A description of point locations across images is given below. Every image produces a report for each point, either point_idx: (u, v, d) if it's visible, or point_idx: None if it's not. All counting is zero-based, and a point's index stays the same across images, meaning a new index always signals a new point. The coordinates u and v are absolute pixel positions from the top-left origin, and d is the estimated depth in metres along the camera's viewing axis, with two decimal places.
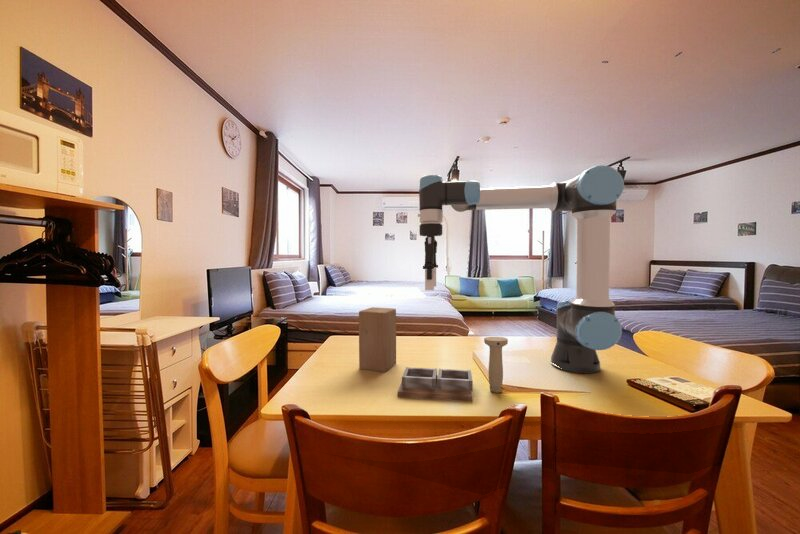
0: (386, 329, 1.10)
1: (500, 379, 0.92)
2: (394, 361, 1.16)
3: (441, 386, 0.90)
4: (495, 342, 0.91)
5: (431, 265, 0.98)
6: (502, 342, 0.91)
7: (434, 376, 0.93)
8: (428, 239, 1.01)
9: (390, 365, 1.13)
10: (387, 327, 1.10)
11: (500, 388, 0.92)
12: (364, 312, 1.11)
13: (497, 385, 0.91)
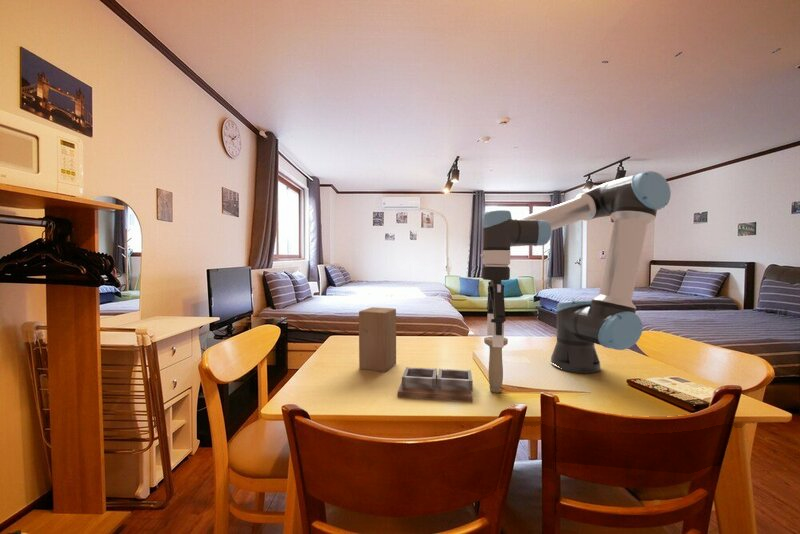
0: (386, 329, 1.10)
1: (500, 379, 0.92)
2: (394, 361, 1.16)
3: (441, 386, 0.90)
4: None
5: (503, 320, 0.83)
6: None
7: (434, 376, 0.93)
8: (497, 287, 0.86)
9: (390, 365, 1.13)
10: (387, 327, 1.10)
11: (500, 388, 0.92)
12: (364, 312, 1.11)
13: (497, 385, 0.91)
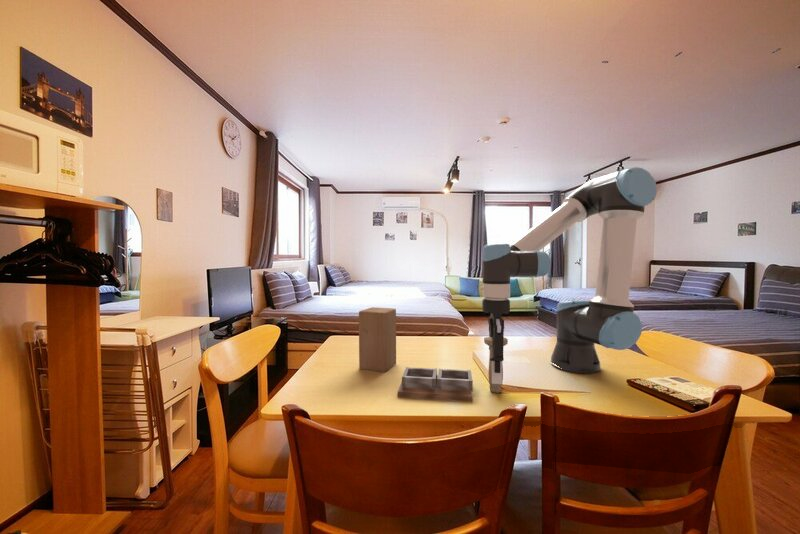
0: (386, 329, 1.10)
1: None
2: (394, 361, 1.16)
3: (441, 386, 0.90)
4: None
5: (501, 359, 0.87)
6: None
7: (434, 376, 0.93)
8: (497, 329, 0.86)
9: (390, 365, 1.13)
10: (387, 327, 1.10)
11: (500, 388, 0.92)
12: (364, 312, 1.11)
13: (497, 385, 0.91)
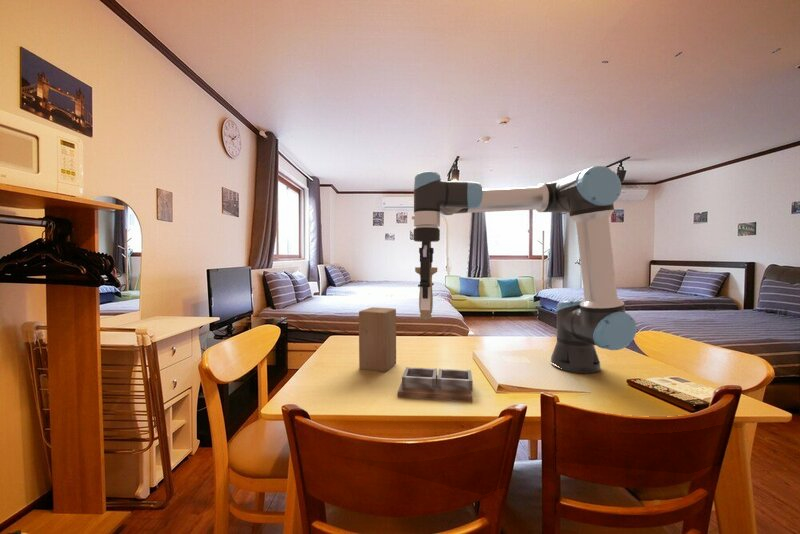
0: (386, 329, 1.10)
1: None
2: (394, 361, 1.16)
3: (441, 386, 0.90)
4: None
5: (427, 283, 0.89)
6: (431, 269, 0.92)
7: (434, 376, 0.93)
8: (423, 252, 0.88)
9: (390, 365, 1.13)
10: (387, 327, 1.10)
11: (429, 315, 0.94)
12: (364, 312, 1.11)
13: (426, 312, 0.93)
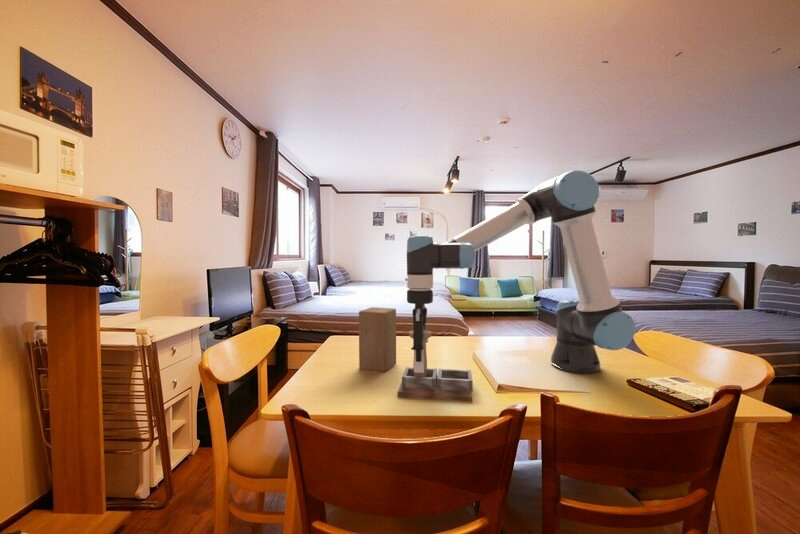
0: (386, 329, 1.10)
1: None
2: (394, 361, 1.16)
3: (441, 386, 0.90)
4: None
5: (420, 348, 0.89)
6: (425, 335, 0.93)
7: (434, 376, 0.93)
8: (416, 317, 0.89)
9: (390, 365, 1.13)
10: (387, 327, 1.10)
11: None
12: (364, 312, 1.11)
13: None
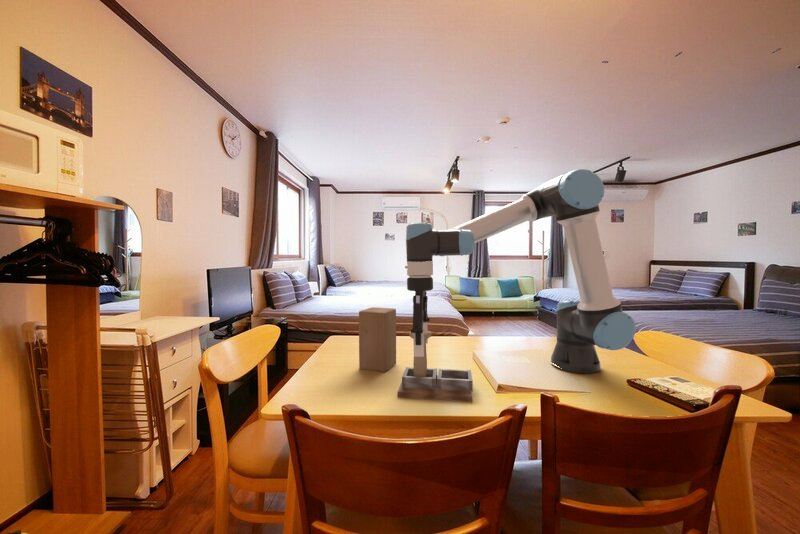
0: (386, 329, 1.10)
1: (423, 371, 0.94)
2: (394, 361, 1.16)
3: (441, 386, 0.90)
4: None
5: (420, 330, 0.85)
6: (425, 335, 0.93)
7: (434, 376, 0.93)
8: (416, 298, 0.88)
9: (390, 365, 1.13)
10: (387, 327, 1.10)
11: None
12: (364, 312, 1.11)
13: None
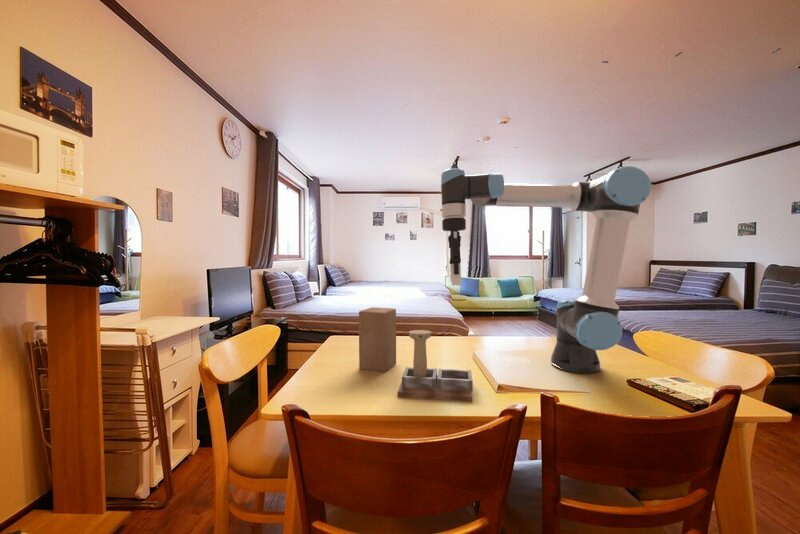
0: (386, 329, 1.10)
1: (423, 371, 0.94)
2: (394, 361, 1.16)
3: (441, 386, 0.90)
4: (417, 335, 0.93)
5: (459, 259, 0.96)
6: (424, 335, 0.93)
7: (434, 376, 0.93)
8: (454, 233, 1.00)
9: (390, 365, 1.13)
10: (387, 327, 1.10)
11: None
12: (364, 312, 1.11)
13: None
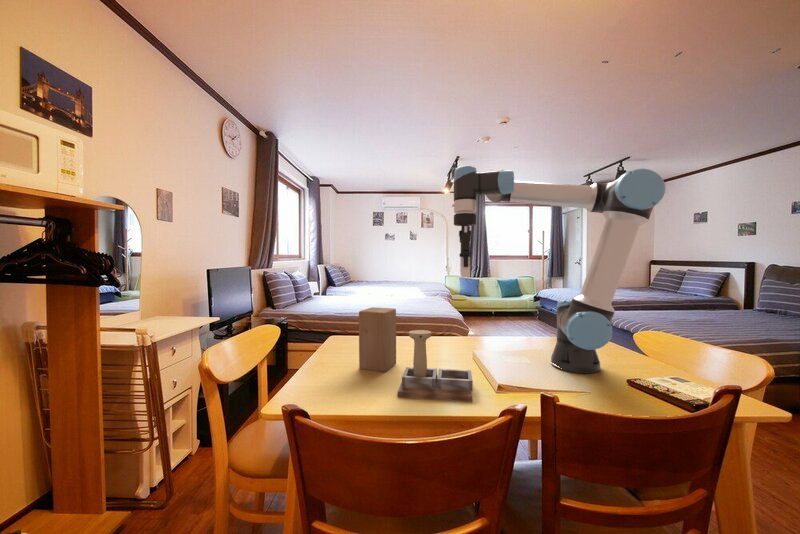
0: (386, 329, 1.10)
1: (423, 371, 0.94)
2: (394, 361, 1.16)
3: (441, 386, 0.90)
4: (417, 335, 0.93)
5: (468, 253, 1.01)
6: (424, 335, 0.93)
7: (434, 376, 0.93)
8: (464, 228, 1.04)
9: (390, 365, 1.13)
10: (387, 327, 1.10)
11: None
12: (364, 312, 1.11)
13: None
